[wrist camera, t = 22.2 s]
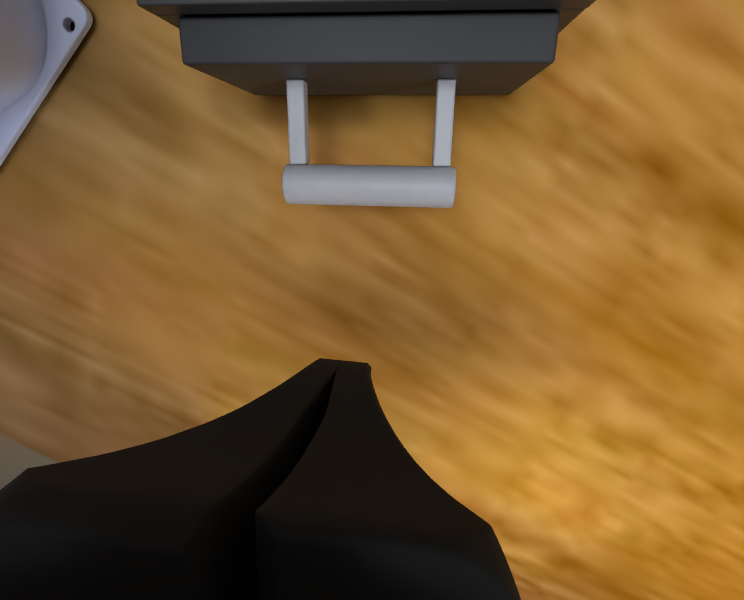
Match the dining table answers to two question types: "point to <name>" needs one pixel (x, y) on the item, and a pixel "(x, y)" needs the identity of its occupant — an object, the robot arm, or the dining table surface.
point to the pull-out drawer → (372, 81)
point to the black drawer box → (352, 7)
